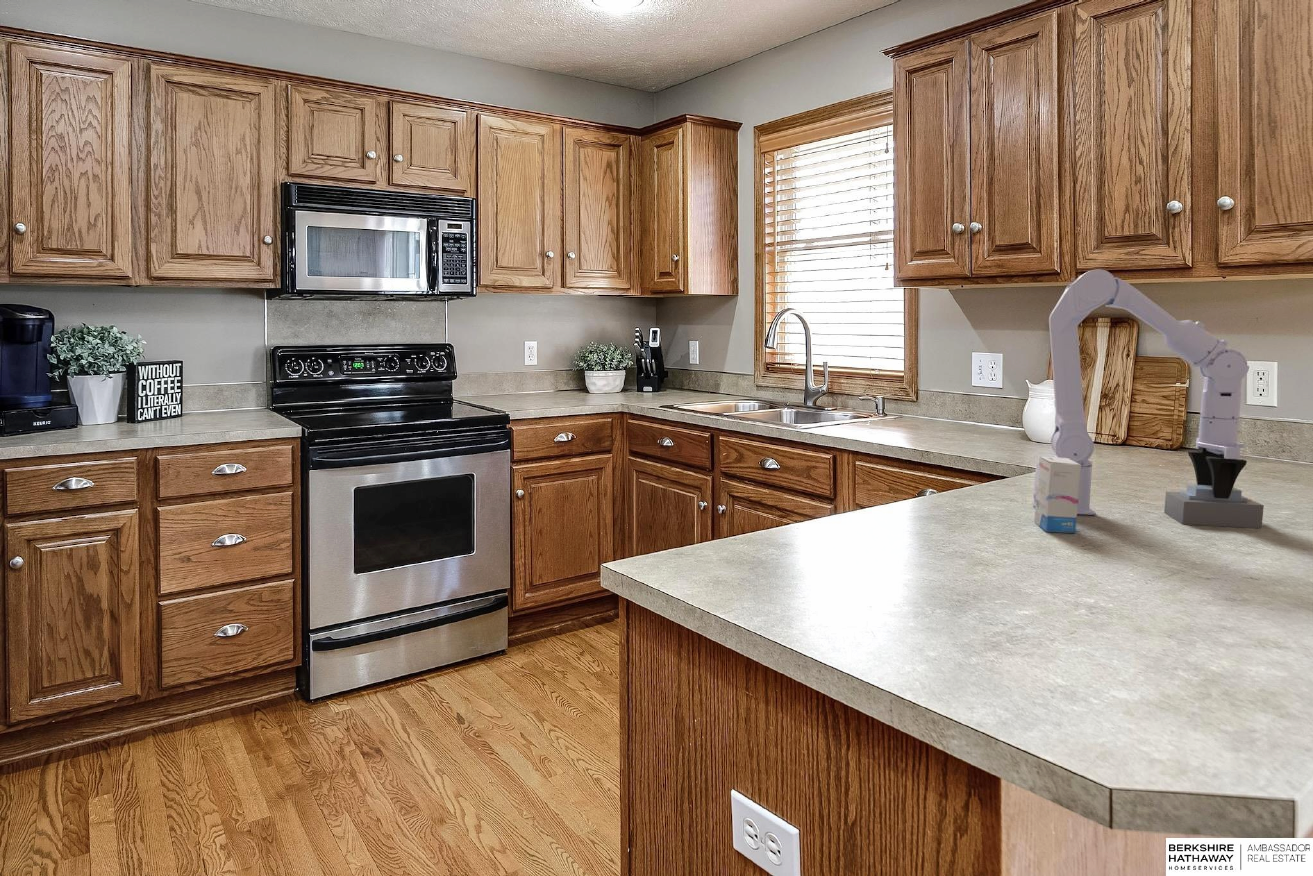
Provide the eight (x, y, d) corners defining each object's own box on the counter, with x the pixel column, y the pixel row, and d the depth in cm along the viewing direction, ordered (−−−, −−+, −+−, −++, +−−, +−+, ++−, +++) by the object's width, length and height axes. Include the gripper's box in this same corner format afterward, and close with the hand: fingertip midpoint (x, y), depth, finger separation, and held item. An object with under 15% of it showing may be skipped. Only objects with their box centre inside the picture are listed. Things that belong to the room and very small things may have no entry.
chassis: (1182, 524, 147) (1184, 500, 147) (1164, 512, 157) (1165, 490, 156) (1261, 528, 144) (1263, 504, 144) (1238, 516, 154) (1240, 493, 153)
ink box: (1077, 534, 140) (1082, 463, 138) (1045, 532, 141) (1049, 462, 139) (1063, 523, 148) (1068, 456, 147) (1033, 521, 149) (1037, 455, 148)
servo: (1187, 521, 149) (1190, 485, 149) (1178, 516, 154) (1181, 480, 153) (1245, 524, 147) (1248, 487, 146) (1234, 519, 152) (1237, 483, 151)
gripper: (1263, 422, 140) (1256, 502, 142) (1229, 414, 154) (1223, 488, 156) (1215, 421, 142) (1208, 500, 144) (1185, 413, 156) (1180, 486, 158)
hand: (1213, 494), depth 150 cm, fingers open, 7 cm apart
